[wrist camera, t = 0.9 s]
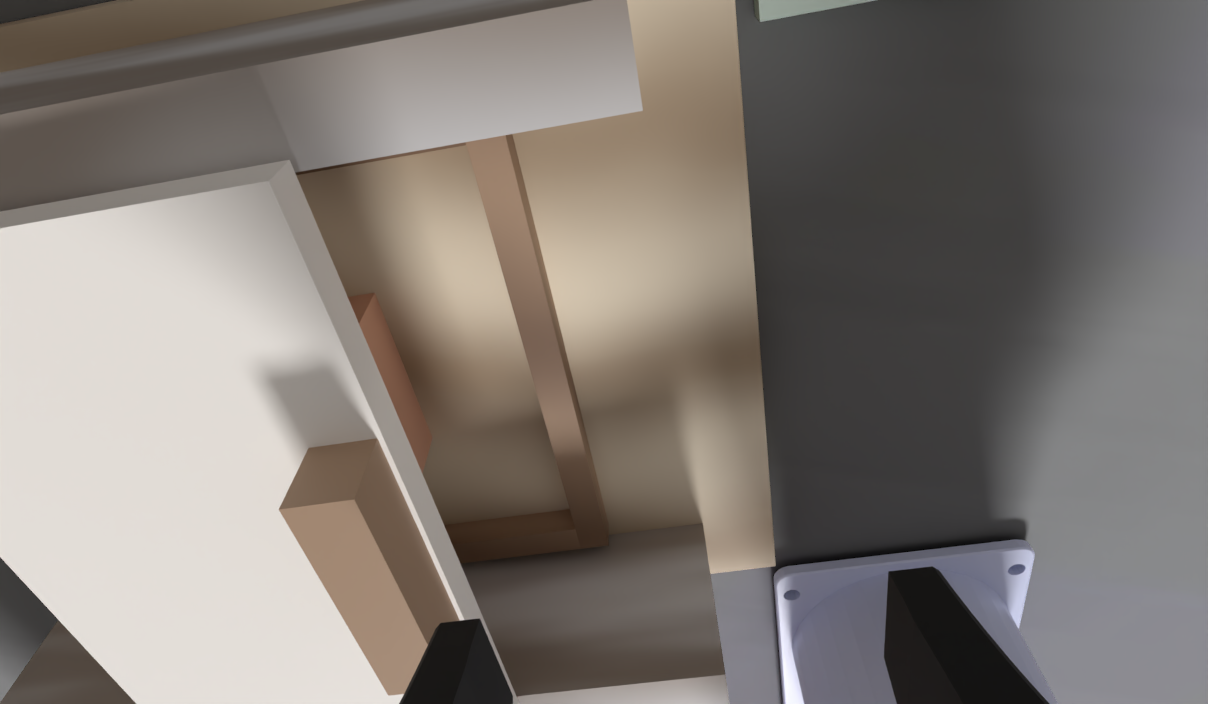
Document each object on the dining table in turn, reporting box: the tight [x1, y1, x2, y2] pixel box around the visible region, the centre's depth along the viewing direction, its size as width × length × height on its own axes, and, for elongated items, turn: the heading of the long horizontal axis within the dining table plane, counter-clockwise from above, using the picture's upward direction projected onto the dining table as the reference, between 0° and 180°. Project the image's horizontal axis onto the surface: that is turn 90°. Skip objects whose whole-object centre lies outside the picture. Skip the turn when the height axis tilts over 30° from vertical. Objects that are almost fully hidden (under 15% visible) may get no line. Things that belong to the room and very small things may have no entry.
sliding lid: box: [0, 160, 519, 704], centre depth 14 cm, size 14×8×2 cm, turn 10°
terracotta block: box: [348, 293, 432, 474], centre depth 17 cm, size 4×4×4 cm
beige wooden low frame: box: [0, 0, 776, 704], centre depth 17 cm, size 18×22×6 cm
